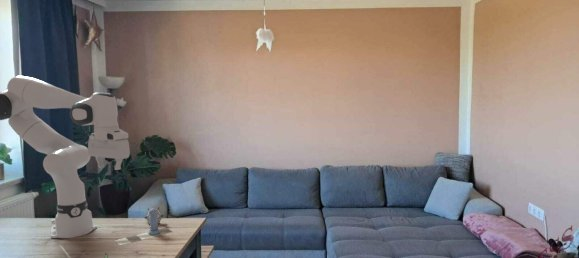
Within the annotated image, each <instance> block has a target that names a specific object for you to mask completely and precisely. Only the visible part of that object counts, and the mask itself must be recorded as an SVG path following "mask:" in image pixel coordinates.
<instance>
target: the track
mask: <svg viewBox="0 0 579 258" xmlns="http://www.w3.org/2000/svg"><path fill="white" fill-rule="evenodd" d="M158 229H159V230H160V233H159V234H158V235H149V231H147V232H143V233H139V234H135V235H132V236H128V237H123V238H119V239H115V240H114V242H115V243H117V244H118V245H119V246H124V245H127V244H131V243H135V242H139V241H143V240H147V239H150V238H154V237H155V238H156V237H158V236H162V235H166V234H170V233H173V231H172V230H171V229H169V228H167V227H163V228H158Z"/></svg>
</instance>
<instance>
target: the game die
mask: <svg viewBox="0 0 579 258" xmlns="http://www.w3.org/2000/svg"><path fill="white" fill-rule="evenodd" d="M155 209H156V210H157V221H158V225H161V220H162V217H164V214H162V213H161V210H160V207H158V208H155ZM147 210H148V211H147V214H146V216H144V219H145V220H147V223H148V225H150V218H149V211H150V209H149V208H147Z"/></svg>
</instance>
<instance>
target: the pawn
mask: <svg viewBox="0 0 579 258" xmlns="http://www.w3.org/2000/svg"><path fill="white" fill-rule="evenodd" d="M156 209H157V208H154V207H153V208H150V209H149V210H150V211H149V218H150V224H149V230H148V232H149V235H158V234H159V233H160V230H159V229H160V228H159V226H158V225H159V223H158V221H157V210H156Z"/></svg>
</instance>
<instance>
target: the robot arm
mask: <svg viewBox="0 0 579 258" xmlns="http://www.w3.org/2000/svg"><path fill="white" fill-rule="evenodd" d="M34 109H35V110H37V109H40V110H41V109H42V110H50V109H51V110H52V109H70V112H69V113H70V114H69V115H70V118H71V120H72V122H73V123H74V124H75V125H78V126H81V127H83V126H93V130H94V132H93V133H91V134H90V135H89V136H88V137H89V138H88V143H87V147H86V146H85V145H82V144H79V143H77V142H75V141H72V139H69V138H67V137H65V136H64V135H62V134H60V133H59V132H57V131H56V130H55V129H54V128H52V126H50V125H49V124H47V123H46V122H45V121H44V120H42V119H41V118H39V116H38V115H36V113H35V112H34ZM118 115H119V113H118V103H117V98H116V96H115V95H114V94H113V93H111V92H105V91H104V92H103V91H96V92H94V93H92V94H91V96H89V97H88V96H87V97H86V96H84V95H80V94H78V93H74V92H71V91H68V90H65V89H63V88H60V87H57V86H55V85H53V84H51V83H49V82H45V81H43V80H40V79H38V78H35V77H30V76H24V75H17V76H13V77H12V78H11V79H9V81H8V83H7V87H6V88H5V89H4V90H2V91H0V121H4V120H8V125H9V127H10V128H11V129H12V130H13V131H14V132H15V133H16V134H17V136H18V137H20V138H21V139H22V140H23V141H24V142H25V143H27V144H28V145H29V146H30V147H32V148H33V150H35V151H36V152H39V153H42V154H45V155H46V156H45V157H44V159H43V161H42V166H43V168H44V171H45V172H46V173H47V174H49V176H50V177H51V178H52V180H53V183H54V186H55V189H56V199H57V204H56V212H57V213H56V215H55V218H53V219H51V225H52V226H51V227H50V228H51V229H50V238H51V239H56V238H57V239H71V238H76V237H80V236H85V235H87V234H89V233H91V232H92V231H93V230H95V229H97V228H98V227H97V224H94V223H93V216H92V215H93V214H92V211H91V210H90V209H88V202H87V201H88V200H87V199H86V190H85V183H84V182H83V181H82V180H81V179H80V176H79V174H78V170H79V169H81V168H83V167H85V166H86V165H87V164H88V163H89V162H90V160H91V157H95V161H96V162H97V167H98V168H99V169H103V168H105V167H106V166H105V162H103V161H104V160H103V158H105V159H106V158H107V159H113V160H114V159H115V162H116V163H115V164H114V165H113V168H114V170H116V171H118V170H121V169H122V163H123V160H124V159H128V158H129V157H130V154H131V152H130V151H131V150H130V142H129V140H128V139H129V133H128V132H126V131H124V130H123V129H121V128H120V126H119V122H118Z"/></svg>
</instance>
